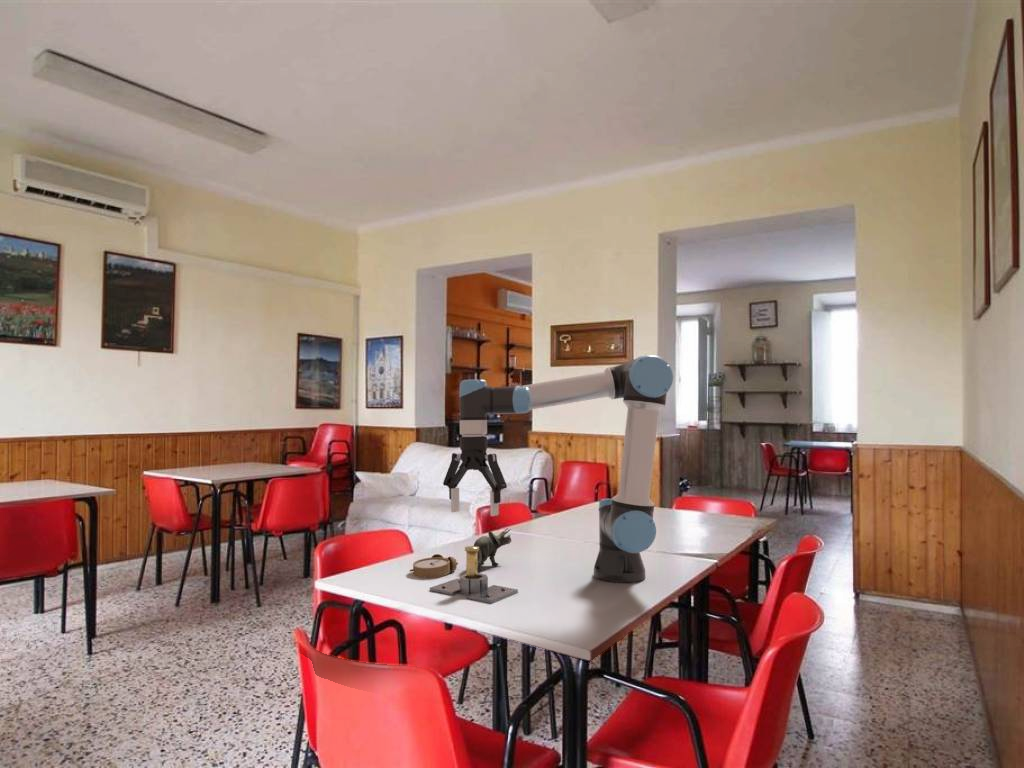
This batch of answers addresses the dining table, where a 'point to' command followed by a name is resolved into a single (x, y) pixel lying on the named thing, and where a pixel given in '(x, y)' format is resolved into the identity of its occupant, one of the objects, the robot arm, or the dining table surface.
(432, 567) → the alarm clock
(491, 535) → the dinosaur figurine
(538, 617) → the dining table surface
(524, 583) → the dining table surface
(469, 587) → the grey plate with ring
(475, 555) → the pin
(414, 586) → the dining table surface
